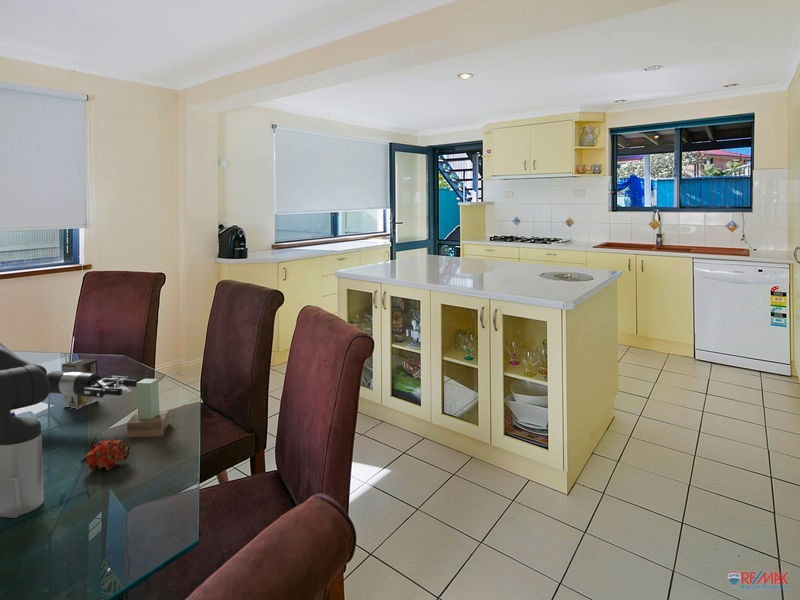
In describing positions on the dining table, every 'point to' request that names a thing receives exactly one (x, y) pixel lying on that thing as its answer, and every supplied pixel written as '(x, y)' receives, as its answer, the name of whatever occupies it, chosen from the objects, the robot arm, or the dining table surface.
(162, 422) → the tan flat square block
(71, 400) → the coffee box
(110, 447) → the dragon fruit
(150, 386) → the sage block
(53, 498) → the dining table surface
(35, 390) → the robot arm
